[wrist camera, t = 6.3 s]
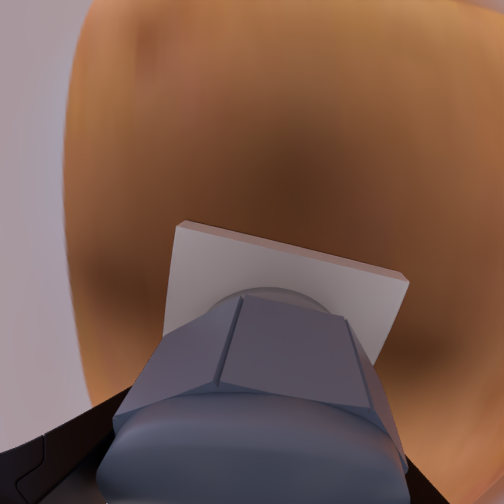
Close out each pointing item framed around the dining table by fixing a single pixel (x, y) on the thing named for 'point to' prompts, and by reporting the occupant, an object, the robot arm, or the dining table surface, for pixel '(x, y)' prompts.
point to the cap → (256, 415)
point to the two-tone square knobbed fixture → (278, 281)
